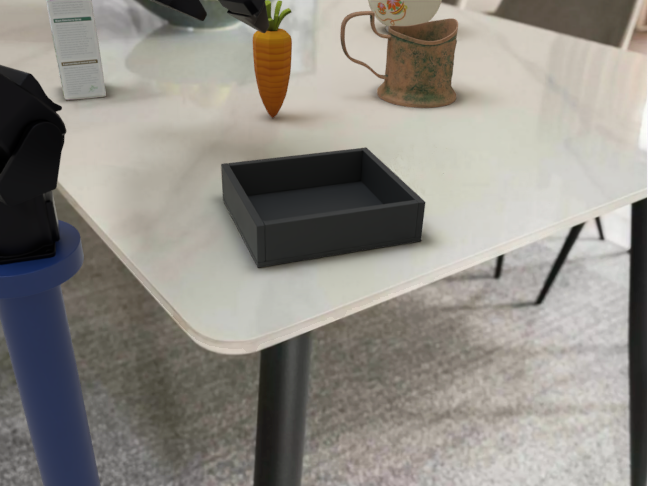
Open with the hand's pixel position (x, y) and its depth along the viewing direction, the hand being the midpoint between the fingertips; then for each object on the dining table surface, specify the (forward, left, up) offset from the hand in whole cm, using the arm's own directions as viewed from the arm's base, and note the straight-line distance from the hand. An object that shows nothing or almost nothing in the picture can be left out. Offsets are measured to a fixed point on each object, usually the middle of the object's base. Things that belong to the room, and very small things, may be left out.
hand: (234, 23), depth 77 cm
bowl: (+45, +47, -14) cm, 66 cm away
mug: (+26, +9, -14) cm, 30 cm away
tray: (+2, -24, -13) cm, 28 cm away
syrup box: (-17, +22, -14) cm, 31 cm away
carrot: (+6, +5, -14) cm, 16 cm away
